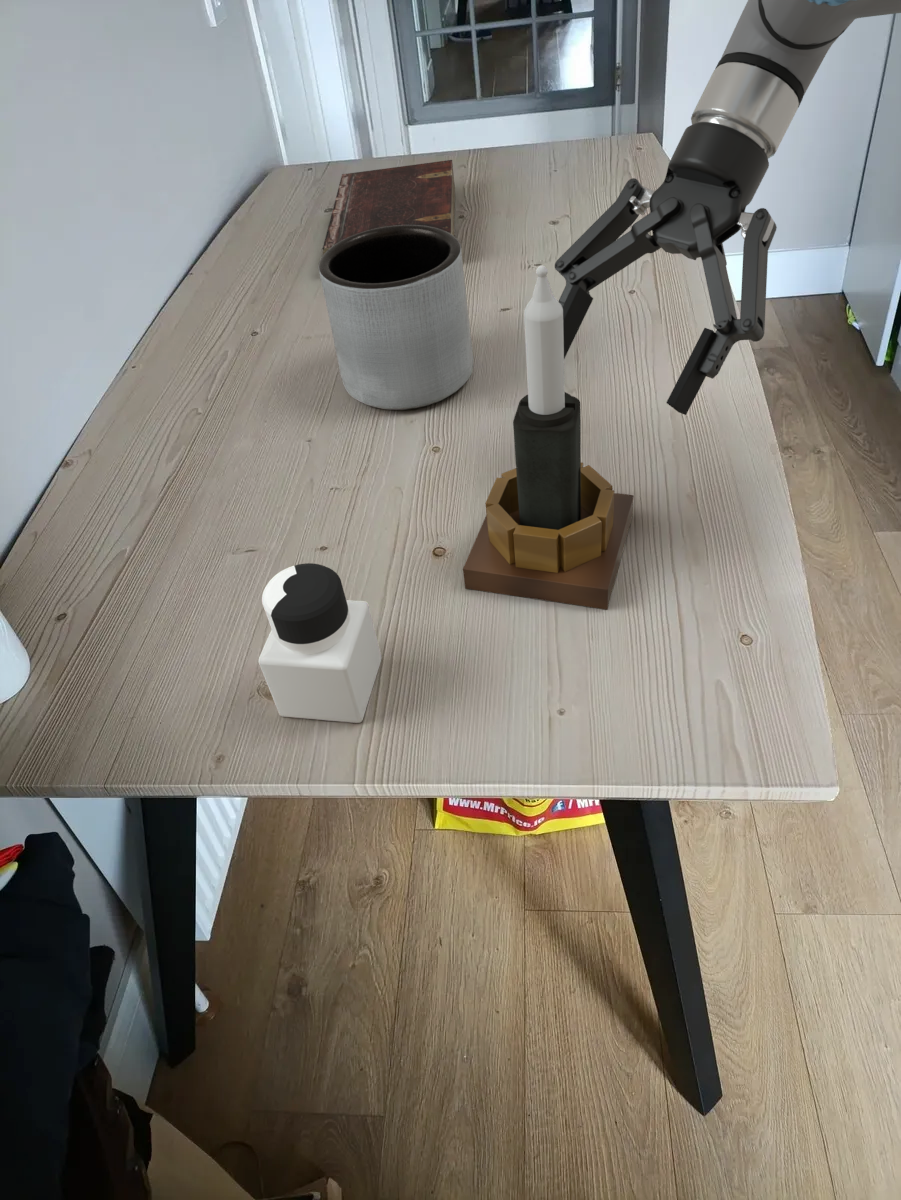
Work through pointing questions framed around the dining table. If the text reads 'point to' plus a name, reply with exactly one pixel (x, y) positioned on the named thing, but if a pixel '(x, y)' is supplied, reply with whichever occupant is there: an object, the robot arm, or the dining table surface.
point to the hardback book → (393, 200)
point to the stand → (551, 546)
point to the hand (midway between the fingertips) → (610, 383)
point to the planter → (398, 315)
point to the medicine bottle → (318, 646)
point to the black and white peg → (547, 421)
